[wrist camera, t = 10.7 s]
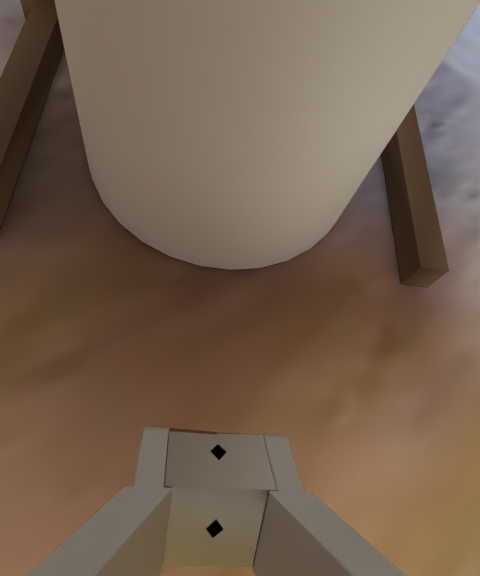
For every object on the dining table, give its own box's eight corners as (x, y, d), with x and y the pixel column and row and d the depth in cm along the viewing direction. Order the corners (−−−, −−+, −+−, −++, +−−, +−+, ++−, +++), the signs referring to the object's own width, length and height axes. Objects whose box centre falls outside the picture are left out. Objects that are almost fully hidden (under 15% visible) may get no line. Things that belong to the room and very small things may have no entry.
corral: (-61, 227, 15) (-108, 170, 13) (33, 10, 21) (15, -60, 18) (444, 289, 18) (493, 253, 15) (402, 82, 24) (433, 30, 21)
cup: (27, 150, 17) (-177, -389, 7) (208, 40, 23) (254, -363, 12) (245, 329, 16) (435, -21, 5) (387, 164, 21) (628, -178, 10)
